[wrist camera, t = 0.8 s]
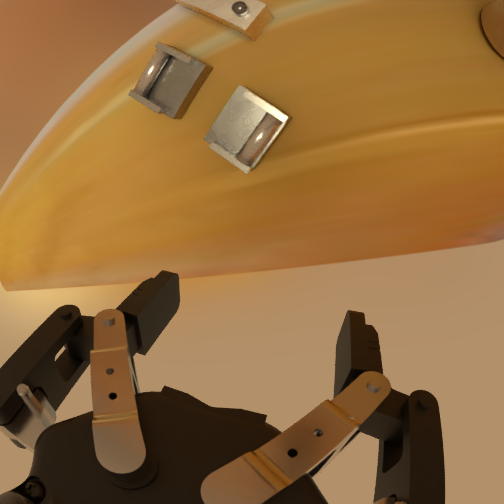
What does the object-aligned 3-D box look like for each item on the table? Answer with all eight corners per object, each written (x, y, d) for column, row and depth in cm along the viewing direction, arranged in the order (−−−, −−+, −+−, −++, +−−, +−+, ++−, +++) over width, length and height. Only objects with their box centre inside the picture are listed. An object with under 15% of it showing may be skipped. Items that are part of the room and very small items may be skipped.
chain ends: (173, 47, 31) (156, 40, 27) (292, 117, 33) (287, 117, 29) (144, 95, 35) (125, 94, 31) (254, 168, 36) (246, 174, 33)
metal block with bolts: (200, -15, 27) (182, -31, 21) (274, 18, 28) (264, 1, 22) (184, 6, 28) (163, -7, 23) (255, 40, 29) (243, 27, 24)
